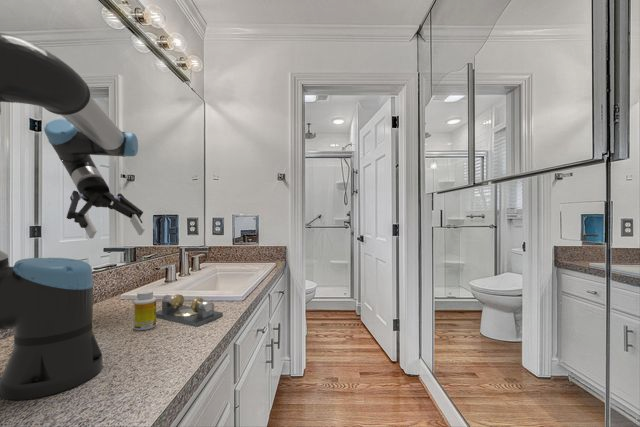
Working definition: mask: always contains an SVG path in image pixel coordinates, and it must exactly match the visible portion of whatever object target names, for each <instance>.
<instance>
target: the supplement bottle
mask: <svg viewBox="0 0 640 427" xmlns="http://www.w3.org/2000/svg"><path fill="white" fill-rule="evenodd" d="M136 294H137V295H136V299H134V301H133V329H134V330H135V331H149V330H150V329H153V328H155V327H156V326H157V318H156V312H157V298H156V297H155V296H154V290H151V289H149V290H140V291H138V292H137V293H136Z"/></svg>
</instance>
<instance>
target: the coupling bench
mask: <svg viewBox="0 0 640 427" xmlns="http://www.w3.org/2000/svg"><path fill="white" fill-rule="evenodd" d="M184 303H185V297H184V296H183V294H175V295H171V294H165V295H164V296H163V297H162V301H161V309H160V310H156V319H160V320H165V321H171V322H175V323H179V324H183V325H188V326H193V327H196V328H198V327H200V326H202V325H205V324H207V323H210V322H213V321H215V320H217V319H220V318H222V317H223V316H224V315H223V314H224V313H223V312H222V311H216V310H215V303H214V302H212V301H207V300H204V299H203V298H202V297H196V298H194V300H193V301H192V302H191V306H189V305H184Z"/></svg>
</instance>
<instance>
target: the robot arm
mask: <svg viewBox="0 0 640 427" xmlns="http://www.w3.org/2000/svg"><path fill="white" fill-rule="evenodd" d="M91 93H92V92H91V89H90V88H89V85H88V84H87V82H85V80H84V79H83V78H82V77H81V75H80V74H79V73H78V72H77V71H76V70H74V69H73V68H72V67H71V66H70V65H68V64H67V63H66V62H64V61H63V60H62V59H60V58H59V57H57V56H56V55H54V54H53V53H51V52H50V51H48V50H46V49H44V47H41V46H39V45H37V44H35V43H33V42H31V41H29V40H26V39H24V38H22V37H18V36H15V35H12V34H9V33H5V32H0V103H1V102H3V103H13V104H14V103H16V104H24V105H25V104H26V105H31V106H32V105H33V106H38V107H41V108H44V109H45V110H47V111H48V112H50V113H52V114H55V115H59V116H62V117H63V118H59V119H53V120H51V121H49V122H48V123H46V124H45V126H44V128H43V131H44V133H45V136H46V138H47V139H48V142H49V144H50V145H51V146H52V148H53V150H54V151H55V153H56V154H57V156H58V158H59V159H60V162H61V163H62V165H63V166H64V168H65V169H66V171H67V173H68V175H69V177H70V179H71V180H72V182H73V184H74V186H75V188H76V189H77V190H73V191H72V192H71V194H70V196H69V198H70V205H69V209H68V211H67V214H66V219H67V220H73V219H74V220H73V222H74V223H78V225H79V227H80V228H82V229H84V230H85V232H86V234H87V235H88V238H89V239H94V237H95V236H96V234H97V231H98V230H97V229H96V227H95V226H94V224H93V222H92V220H91V218H90V216H89V215H88V214H87V213H88V211H90V209H91V208H92V207H95V208H107V209H110V210H114V211H116V212H118V213H120V214H121V215H123V216H125V217H127V218H129V219H130V220H129V221H130V223H131V224H132V226H133V228H134V229H135V231H136V233H137V235H139V236H142V235H143V234H144V232H145V230H146V228H145V226H144V224H143V220H142V219H141V217H142V216H143V214H144V211H142V210H141V209H140V208H139V207H138V206H136V205H135V204H133V202H131V201H130V200H128V199H127V198H125V197H124V194H123V193H121V192H120V193H118V194H117V195H114V194H112V193H111V191H110V187H109V186H108V184H107V183H106V180H105V178H104V177H103V175H102V174H101V172H100V170H99V169H98V168H97V166H96V164H95V162H94V160H93V159H92V157H91V156H105V157H106V156H108V157H109V156H110V157H123V158H125V157H136V156H137V154H138V151H139V143H138V142H139V141H138V137H137V135H136V134H135V133H133V132H129V131H121V129H120V128H119V127H118V126H117V125H116V123H114V121H113V120H112V119H111V118H110V117H109V115H108V114H107V113H106V112H105V111H104V110H103V108H102V107H101V106H100V105H99V104H98V102H96V100H95V98H93V97H92V95H91ZM1 112H2V111H1V104H0V116H1V115H2V114H1ZM62 160H63V161H62ZM80 200H83V201H84V202H86V203H85V204H84V205H83V207H82V208H80V210H79V211H78V212H77V209H78V208H77V207H78V203H79V201H80ZM9 263H10V262H9V255H8V253H6V252H4V251H2V250H0V331H4V330H13V336H14V337H13V347H12V351H11V353H10V356H9V358H8V360H7V363H6V366H5V367H4V370H3V373H2V375H1V377H0V397H2V398H4V399H6V400H12V401H13V400H14V401H15V400H16V401H18V400H20V401H21V400H30V399H31V400H32V399H37V398H43V397H47V396H51V395H55V394H58V393H60V392H61V393H62V392H64V391H67V390H70V389H72V388H74V387H76V386H79V385H81V384H83V383H85V382H87V381H89V380H90V379H92V378H94V377H95V376H96V375H97V374H98V373H99V372H100V371H102V369H103V364H104V362H103V353H102V350H101V348H100V346H99V344H98V341H97V339H96V336H95V334H94V332H93V317H94V316H93V314H94V312H93V309H94V308H93V306H94V303H93V302H94V300H93V299H94V296H93V295H94V285H95V284H94V283H95V282H94V280H93V268H92V266H91V265H90V263H89V262H86V261H84V260H80V259H76V258H67V257H30V258H23V259H18V260H17V261H16V262H15V263H14V265H13V266H10V264H9Z"/></svg>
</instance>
